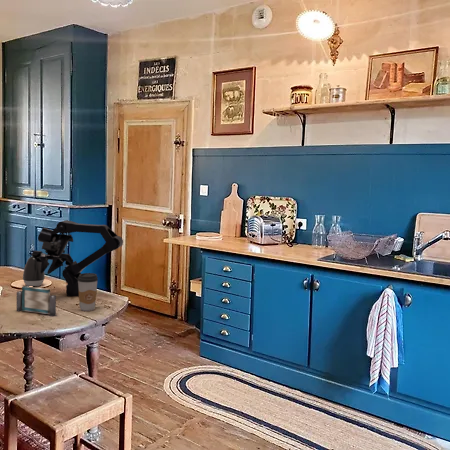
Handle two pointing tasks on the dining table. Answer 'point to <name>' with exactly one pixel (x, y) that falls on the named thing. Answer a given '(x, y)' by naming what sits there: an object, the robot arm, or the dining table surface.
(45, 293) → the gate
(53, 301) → the gate posts
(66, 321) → the dining table surface
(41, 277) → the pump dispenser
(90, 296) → the coffee cup
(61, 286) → the dining table surface
